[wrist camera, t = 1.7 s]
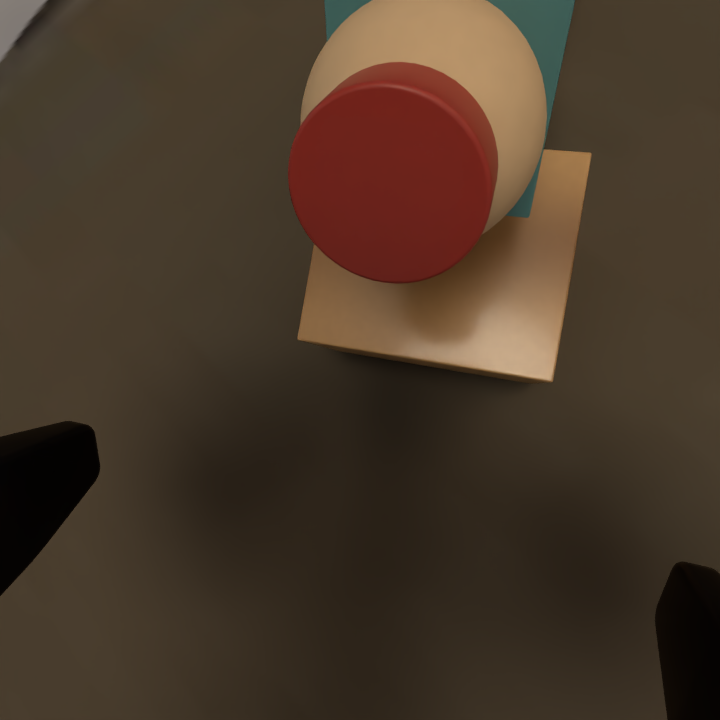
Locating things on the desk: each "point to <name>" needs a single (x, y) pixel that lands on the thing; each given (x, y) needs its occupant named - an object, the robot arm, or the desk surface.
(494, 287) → the pine block
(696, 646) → the robot arm
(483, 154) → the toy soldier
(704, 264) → the desk surface
